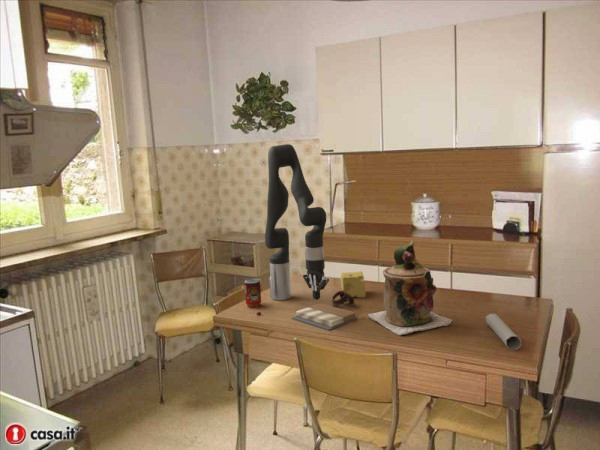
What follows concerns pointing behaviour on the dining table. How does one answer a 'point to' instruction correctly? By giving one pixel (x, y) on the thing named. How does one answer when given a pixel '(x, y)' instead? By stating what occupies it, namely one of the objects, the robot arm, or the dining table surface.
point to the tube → (503, 332)
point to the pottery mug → (343, 298)
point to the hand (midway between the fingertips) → (316, 299)
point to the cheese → (353, 283)
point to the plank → (319, 317)
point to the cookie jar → (408, 296)
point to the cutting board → (346, 315)
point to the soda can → (252, 292)
